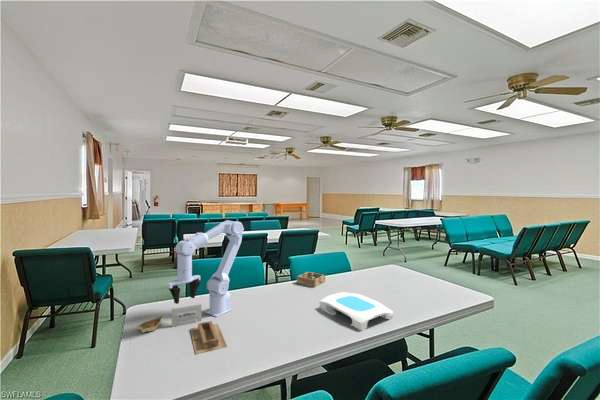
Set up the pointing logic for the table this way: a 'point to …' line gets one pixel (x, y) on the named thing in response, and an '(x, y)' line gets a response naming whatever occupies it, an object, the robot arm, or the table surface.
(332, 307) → the white step stool
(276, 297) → the table surface
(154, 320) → the shard
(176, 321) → the cassette
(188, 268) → the robot arm
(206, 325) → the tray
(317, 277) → the deck stand
